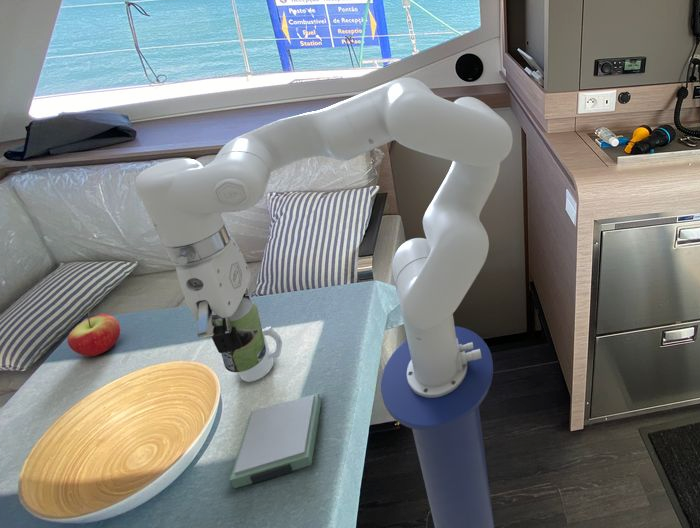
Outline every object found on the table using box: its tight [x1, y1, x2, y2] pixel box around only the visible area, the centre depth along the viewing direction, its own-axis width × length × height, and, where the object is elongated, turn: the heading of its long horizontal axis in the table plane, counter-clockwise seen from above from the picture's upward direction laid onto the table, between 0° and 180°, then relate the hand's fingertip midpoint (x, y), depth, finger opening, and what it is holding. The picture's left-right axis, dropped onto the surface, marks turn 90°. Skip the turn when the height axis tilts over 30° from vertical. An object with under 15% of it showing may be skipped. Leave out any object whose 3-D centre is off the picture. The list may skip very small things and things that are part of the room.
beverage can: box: [213, 298, 266, 373], centre depth 68 cm, size 6×7×12 cm
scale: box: [229, 393, 322, 489], centre depth 75 cm, size 12×12×3 cm
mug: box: [237, 325, 283, 383], centre depth 87 cm, size 10×7×12 cm, turn 98°
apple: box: [67, 310, 121, 357], centre depth 95 cm, size 8×8×10 cm
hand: (238, 331), depth 67 cm, fingers closed on beverage can, 6 cm apart
